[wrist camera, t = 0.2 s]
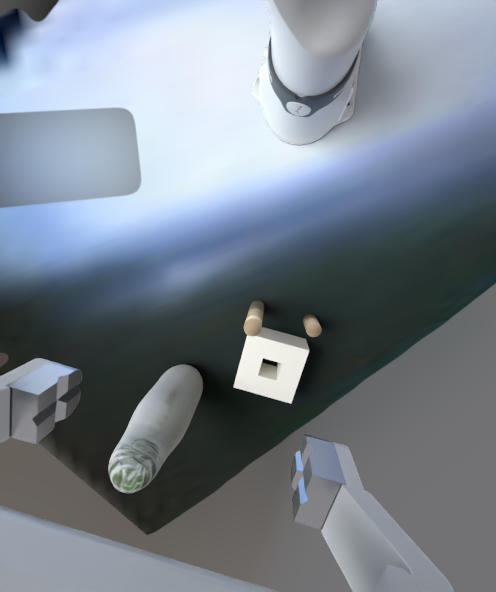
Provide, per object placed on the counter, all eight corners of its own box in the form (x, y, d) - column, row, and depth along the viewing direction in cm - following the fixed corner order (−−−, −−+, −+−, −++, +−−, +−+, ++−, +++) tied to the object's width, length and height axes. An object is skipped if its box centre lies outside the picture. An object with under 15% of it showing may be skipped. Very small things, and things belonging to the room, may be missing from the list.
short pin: (305, 312, 56) (308, 321, 50) (318, 315, 56) (323, 324, 50) (301, 324, 57) (304, 334, 51) (314, 328, 57) (318, 338, 51)
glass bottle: (204, 397, 64) (154, 518, 37) (165, 388, 64) (86, 500, 37) (211, 362, 61) (162, 464, 34) (170, 353, 62) (90, 445, 35)
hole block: (250, 323, 58) (247, 333, 52) (305, 338, 58) (309, 350, 52) (237, 372, 61) (233, 387, 55) (289, 387, 61) (291, 403, 55)
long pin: (252, 298, 57) (246, 317, 43) (265, 301, 56) (263, 322, 43) (249, 310, 57) (241, 333, 44) (262, 313, 57) (258, 338, 44)
